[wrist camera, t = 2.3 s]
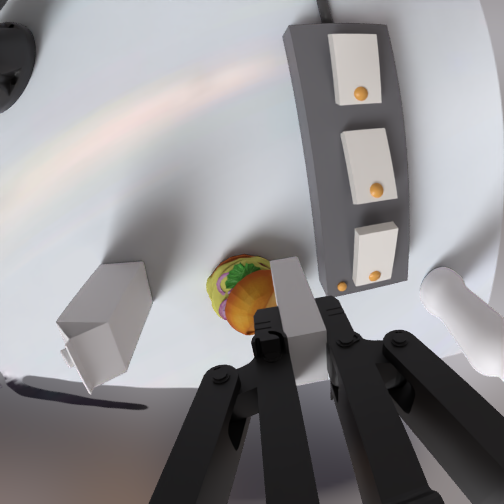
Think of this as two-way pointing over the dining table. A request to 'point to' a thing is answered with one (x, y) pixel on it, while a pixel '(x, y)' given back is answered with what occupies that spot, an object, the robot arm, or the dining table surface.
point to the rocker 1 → (355, 68)
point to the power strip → (332, 154)
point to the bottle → (466, 320)
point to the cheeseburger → (241, 290)
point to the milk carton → (105, 322)
